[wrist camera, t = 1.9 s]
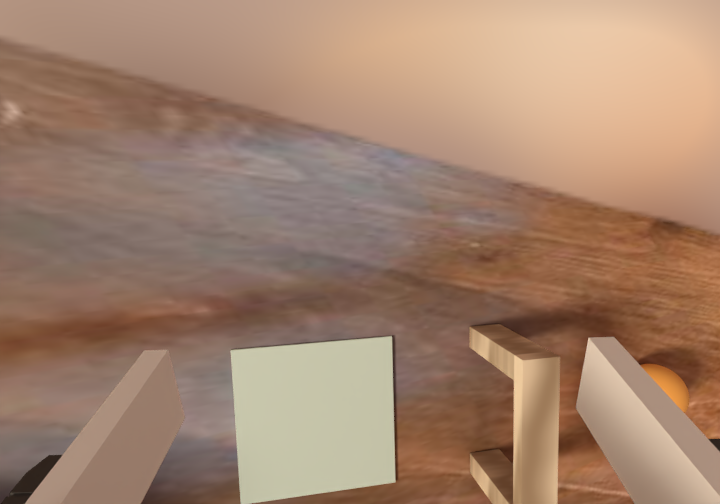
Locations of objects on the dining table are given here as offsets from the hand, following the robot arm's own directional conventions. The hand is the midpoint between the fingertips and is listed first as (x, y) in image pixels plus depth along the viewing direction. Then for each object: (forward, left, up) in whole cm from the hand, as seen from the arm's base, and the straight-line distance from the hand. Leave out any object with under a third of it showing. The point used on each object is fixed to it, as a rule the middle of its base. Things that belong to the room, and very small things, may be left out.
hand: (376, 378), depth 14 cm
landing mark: (-13, 0, -24) cm, 28 cm away
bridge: (-13, -16, -24) cm, 32 cm away
